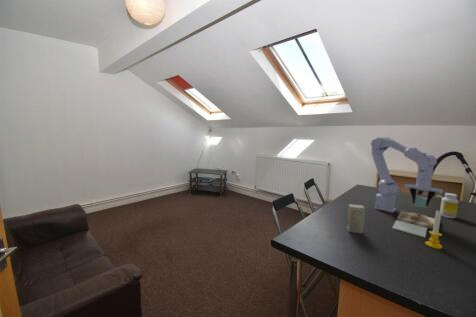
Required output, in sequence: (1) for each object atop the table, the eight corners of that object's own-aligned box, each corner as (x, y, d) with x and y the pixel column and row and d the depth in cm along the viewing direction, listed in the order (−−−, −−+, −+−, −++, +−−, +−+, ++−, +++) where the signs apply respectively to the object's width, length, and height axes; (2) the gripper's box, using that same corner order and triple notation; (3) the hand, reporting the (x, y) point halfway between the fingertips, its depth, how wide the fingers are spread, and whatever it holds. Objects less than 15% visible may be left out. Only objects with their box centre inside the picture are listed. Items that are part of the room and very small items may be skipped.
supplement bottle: (459, 219, 112) (463, 196, 110) (445, 218, 113) (448, 195, 111) (449, 214, 118) (453, 192, 116) (436, 213, 119) (439, 191, 118)
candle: (424, 240, 89) (429, 206, 87) (441, 245, 86) (447, 209, 83) (425, 245, 85) (430, 209, 83) (443, 250, 82) (449, 213, 79)
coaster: (392, 228, 100) (392, 227, 100) (396, 221, 108) (396, 220, 108) (425, 237, 91) (425, 236, 91) (427, 229, 100) (427, 227, 99)
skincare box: (361, 229, 98) (363, 205, 96) (363, 234, 94) (366, 208, 92) (346, 227, 100) (348, 203, 98) (347, 231, 96) (350, 206, 94)
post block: (396, 220, 109) (398, 211, 109) (401, 212, 119) (402, 205, 119) (438, 230, 98) (440, 221, 98) (439, 221, 108) (440, 213, 107)
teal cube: (415, 203, 111) (416, 196, 110) (426, 206, 108) (427, 198, 107) (414, 205, 108) (415, 197, 107) (425, 208, 104) (426, 199, 104)
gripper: (404, 177, 108) (401, 202, 110) (443, 182, 98) (439, 210, 100) (406, 175, 113) (403, 199, 115) (443, 180, 103) (439, 206, 104)
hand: (420, 204), depth 107 cm, fingers closed on teal cube, 4 cm apart
